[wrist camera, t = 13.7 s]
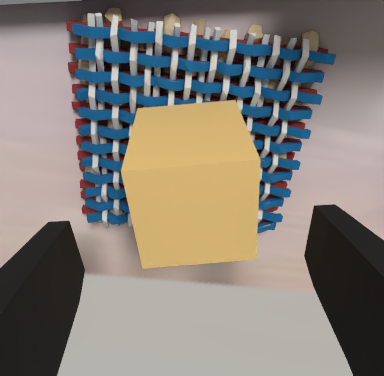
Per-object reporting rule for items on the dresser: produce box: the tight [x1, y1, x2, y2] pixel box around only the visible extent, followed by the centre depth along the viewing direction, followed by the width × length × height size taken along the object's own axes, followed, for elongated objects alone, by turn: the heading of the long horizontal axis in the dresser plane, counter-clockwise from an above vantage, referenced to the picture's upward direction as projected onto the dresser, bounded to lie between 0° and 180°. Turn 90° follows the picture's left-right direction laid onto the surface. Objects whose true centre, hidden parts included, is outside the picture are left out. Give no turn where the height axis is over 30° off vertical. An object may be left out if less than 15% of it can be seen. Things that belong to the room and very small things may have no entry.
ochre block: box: [121, 100, 261, 269], centre depth 13 cm, size 4×4×5 cm
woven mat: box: [66, 7, 336, 233], centre depth 16 cm, size 10×11×2 cm
